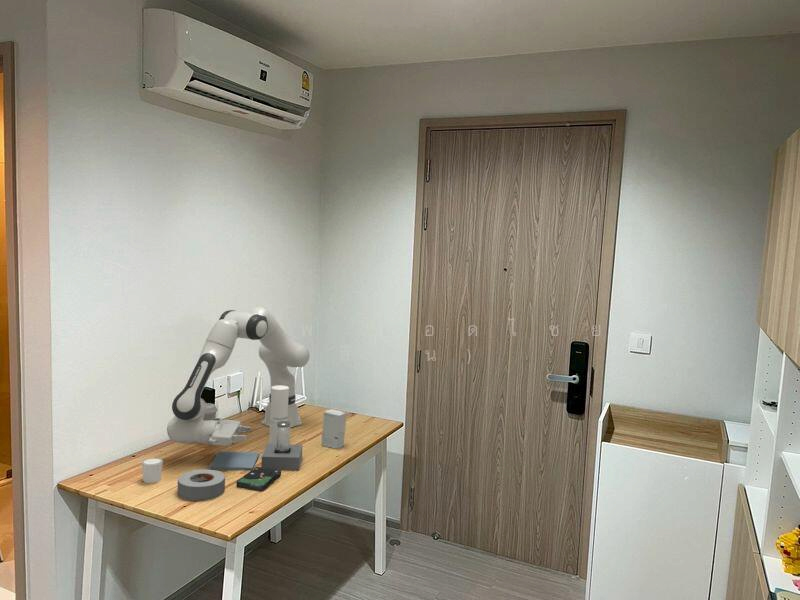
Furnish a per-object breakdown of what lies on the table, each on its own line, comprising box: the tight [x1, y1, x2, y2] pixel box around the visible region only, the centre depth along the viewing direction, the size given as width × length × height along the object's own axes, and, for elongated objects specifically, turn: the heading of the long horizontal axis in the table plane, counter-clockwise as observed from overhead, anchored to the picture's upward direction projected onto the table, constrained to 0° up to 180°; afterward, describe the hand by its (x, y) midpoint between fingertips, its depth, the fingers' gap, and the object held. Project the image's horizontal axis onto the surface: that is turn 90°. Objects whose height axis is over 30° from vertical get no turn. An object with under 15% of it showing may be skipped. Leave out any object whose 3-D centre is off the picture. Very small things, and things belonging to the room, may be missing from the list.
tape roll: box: [177, 468, 226, 502], centre depth 203 cm, size 15×15×5 cm
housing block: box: [260, 443, 303, 471], centre depth 232 cm, size 14×14×5 cm
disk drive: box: [235, 466, 282, 493], centre depth 214 cm, size 10×3×15 cm
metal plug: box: [276, 421, 291, 454], centre depth 231 cm, size 5×5×16 cm
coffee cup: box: [204, 402, 218, 421], centre depth 251 cm, size 10×10×15 cm
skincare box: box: [320, 408, 348, 450], centre depth 254 cm, size 8×6×15 cm
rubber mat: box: [208, 451, 260, 471], centre depth 231 cm, size 16×16×1 cm
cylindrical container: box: [268, 385, 289, 444], centre depth 249 cm, size 7×7×25 cm
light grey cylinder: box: [141, 457, 164, 484], centre depth 209 cm, size 7×7×7 cm
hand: (248, 433), depth 230 cm, fingers open, 8 cm apart
